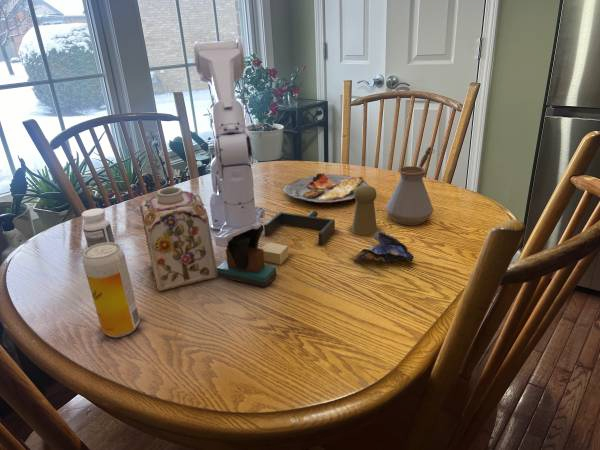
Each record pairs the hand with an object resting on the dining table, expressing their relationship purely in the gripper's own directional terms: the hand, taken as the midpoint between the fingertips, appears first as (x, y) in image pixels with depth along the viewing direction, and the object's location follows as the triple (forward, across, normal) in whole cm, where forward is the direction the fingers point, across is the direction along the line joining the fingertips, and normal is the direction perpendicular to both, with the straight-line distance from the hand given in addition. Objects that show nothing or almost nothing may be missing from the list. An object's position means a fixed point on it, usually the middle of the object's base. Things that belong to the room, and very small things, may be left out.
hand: (245, 263), depth 86 cm
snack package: (+3, +17, -23) cm, 29 cm away
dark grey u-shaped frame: (+3, +25, -1) cm, 25 cm away
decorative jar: (+3, -3, +14) cm, 14 cm away
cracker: (+3, +9, -1) cm, 10 cm away
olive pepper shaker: (+4, +29, -15) cm, 33 cm away
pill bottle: (+4, -2, +38) cm, 38 cm away
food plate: (+4, +50, +3) cm, 51 cm away
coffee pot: (+4, +44, -24) cm, 51 cm away
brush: (+3, 0, 0) cm, 3 cm away
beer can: (+3, -22, +12) cm, 25 cm away
